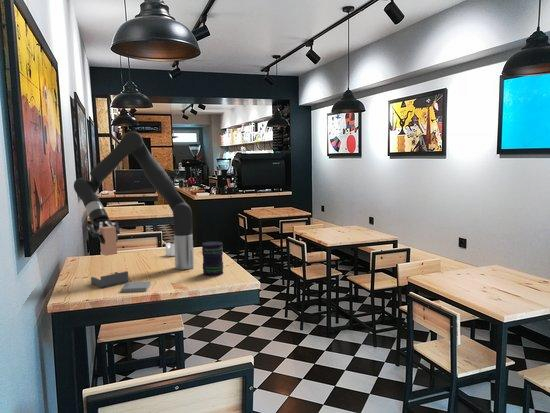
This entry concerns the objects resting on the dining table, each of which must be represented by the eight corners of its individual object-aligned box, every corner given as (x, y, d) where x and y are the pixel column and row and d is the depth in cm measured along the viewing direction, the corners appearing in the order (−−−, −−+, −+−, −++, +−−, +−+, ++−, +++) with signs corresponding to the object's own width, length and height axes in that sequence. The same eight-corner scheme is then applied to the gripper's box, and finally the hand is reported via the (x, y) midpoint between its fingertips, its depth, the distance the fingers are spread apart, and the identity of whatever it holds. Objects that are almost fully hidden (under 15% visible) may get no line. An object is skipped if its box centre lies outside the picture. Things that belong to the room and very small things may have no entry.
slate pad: (150, 284, 180) (150, 281, 180) (146, 291, 170) (146, 287, 170) (127, 285, 179) (126, 282, 179) (121, 292, 169) (121, 288, 169)
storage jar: (198, 274, 196) (197, 243, 195) (213, 270, 204) (212, 240, 203) (213, 277, 190) (212, 245, 189) (227, 273, 198) (226, 242, 197)
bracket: (171, 257, 236) (171, 244, 235) (166, 255, 241) (165, 243, 241) (191, 254, 245) (191, 241, 244) (185, 252, 250) (185, 240, 249)
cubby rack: (91, 283, 183) (90, 272, 182) (117, 278, 191) (116, 267, 191) (102, 288, 175) (101, 277, 175) (128, 282, 184) (127, 271, 183)
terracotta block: (101, 254, 182) (99, 227, 181) (111, 252, 186) (110, 226, 184) (106, 255, 179) (104, 228, 177) (117, 253, 182) (115, 227, 181)
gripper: (82, 209, 180) (96, 239, 173) (114, 206, 190) (128, 234, 183) (78, 220, 184) (91, 249, 177) (109, 217, 195) (123, 244, 188)
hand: (110, 241), depth 180 cm, fingers closed on terracotta block, 5 cm apart
